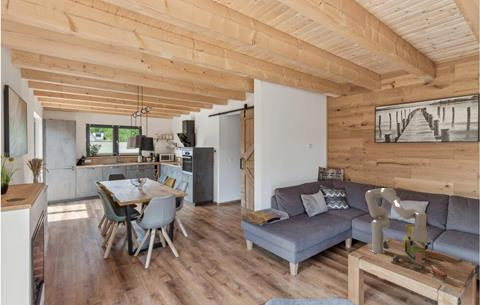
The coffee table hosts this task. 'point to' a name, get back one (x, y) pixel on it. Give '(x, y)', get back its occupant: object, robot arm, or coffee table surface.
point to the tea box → (414, 250)
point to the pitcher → (409, 231)
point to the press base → (406, 264)
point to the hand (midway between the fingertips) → (418, 247)
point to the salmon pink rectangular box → (418, 261)
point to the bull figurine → (438, 273)
